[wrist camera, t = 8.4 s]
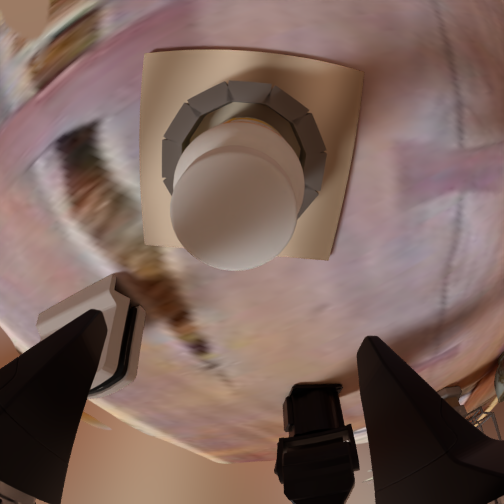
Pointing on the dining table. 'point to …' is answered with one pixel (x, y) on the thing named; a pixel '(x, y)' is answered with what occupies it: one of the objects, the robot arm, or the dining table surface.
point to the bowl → (500, 379)
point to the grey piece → (118, 336)
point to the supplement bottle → (237, 194)
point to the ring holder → (257, 106)
